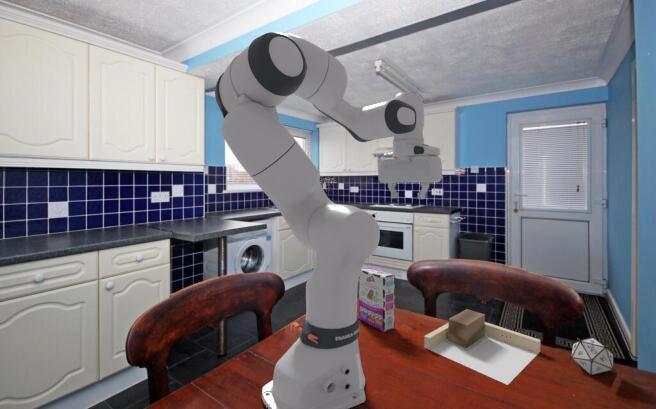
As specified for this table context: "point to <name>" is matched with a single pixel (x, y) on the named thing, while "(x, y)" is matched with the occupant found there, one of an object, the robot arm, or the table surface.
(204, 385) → the table surface
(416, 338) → the table surface
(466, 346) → the walnut block
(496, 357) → the arena
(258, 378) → the table surface
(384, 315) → the candy bar box
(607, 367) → the game die
